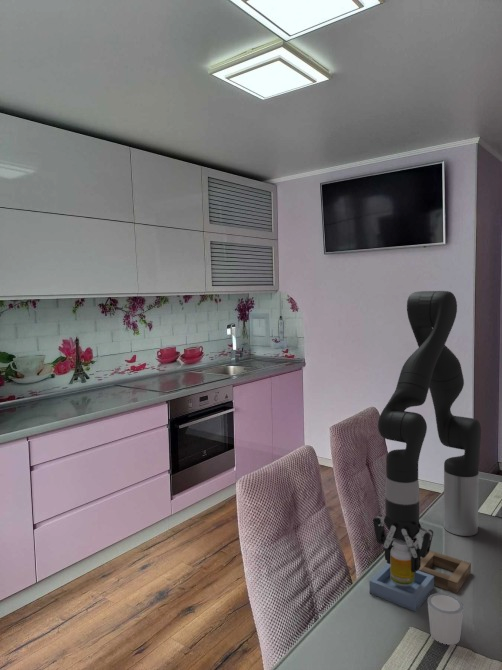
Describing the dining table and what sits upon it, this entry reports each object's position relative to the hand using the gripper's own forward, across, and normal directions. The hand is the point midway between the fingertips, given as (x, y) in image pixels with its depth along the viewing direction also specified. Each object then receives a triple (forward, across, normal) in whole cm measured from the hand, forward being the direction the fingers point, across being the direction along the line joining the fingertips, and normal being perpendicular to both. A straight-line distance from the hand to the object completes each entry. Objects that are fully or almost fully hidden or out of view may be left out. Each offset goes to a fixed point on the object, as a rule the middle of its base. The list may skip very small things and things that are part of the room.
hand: (402, 566), depth 116 cm
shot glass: (+6, -13, +9) cm, 17 cm away
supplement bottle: (+4, 0, 0) cm, 4 cm away
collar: (+6, -5, -12) cm, 14 cm away
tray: (+6, 0, 0) cm, 6 cm away
